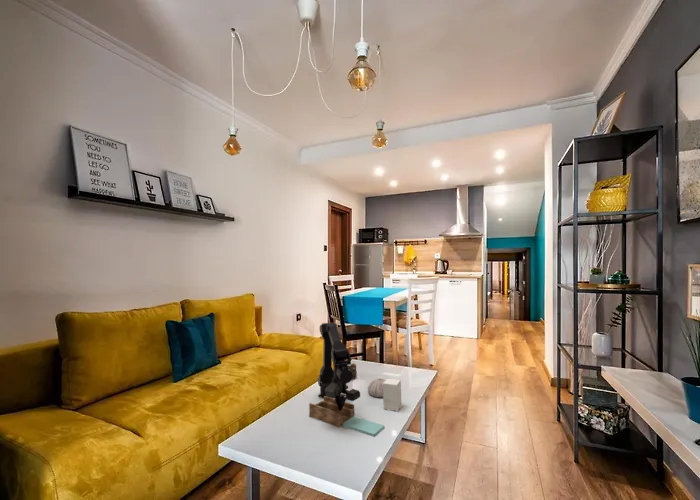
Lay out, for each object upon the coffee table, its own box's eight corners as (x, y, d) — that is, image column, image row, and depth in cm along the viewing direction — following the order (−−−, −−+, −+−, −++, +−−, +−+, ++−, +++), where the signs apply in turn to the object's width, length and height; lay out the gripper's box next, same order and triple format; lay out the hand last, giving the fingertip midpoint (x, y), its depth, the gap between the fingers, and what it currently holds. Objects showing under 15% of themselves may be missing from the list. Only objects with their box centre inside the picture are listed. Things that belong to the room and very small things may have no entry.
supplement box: (401, 405, 161) (401, 380, 161) (397, 412, 154) (397, 385, 155) (387, 403, 164) (387, 378, 164) (382, 409, 157) (382, 382, 158)
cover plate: (342, 427, 141) (342, 423, 141) (353, 419, 148) (353, 416, 148) (374, 438, 132) (374, 434, 132) (384, 429, 139) (384, 425, 139)
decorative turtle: (361, 376, 205) (361, 363, 205) (348, 385, 192) (348, 372, 192) (348, 372, 210) (348, 360, 210) (335, 381, 198) (335, 368, 197)
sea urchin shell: (389, 400, 168) (389, 384, 168) (364, 397, 172) (364, 382, 172) (394, 391, 180) (394, 376, 181) (371, 388, 184) (370, 374, 185)
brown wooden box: (309, 416, 151) (309, 403, 151) (324, 407, 159) (324, 395, 160) (339, 427, 140) (339, 413, 140) (354, 417, 149) (354, 404, 149)
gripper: (313, 376, 147) (313, 411, 146) (345, 385, 136) (346, 423, 135) (328, 369, 156) (329, 402, 155) (360, 377, 145) (361, 413, 144)
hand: (340, 410), depth 147 cm, fingers closed
